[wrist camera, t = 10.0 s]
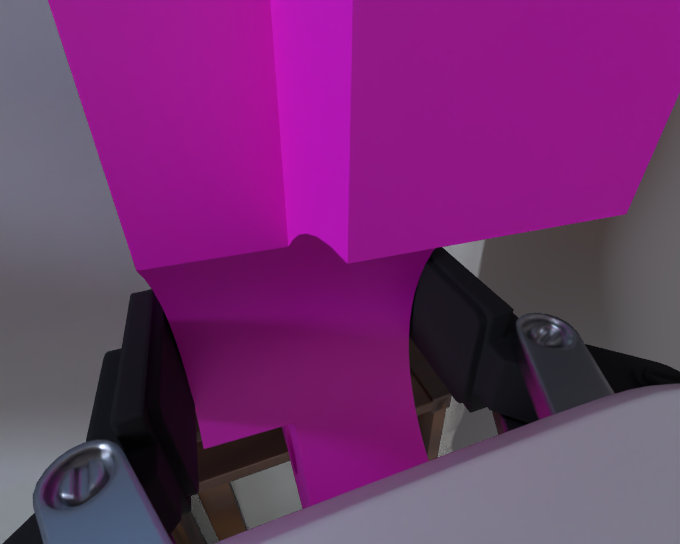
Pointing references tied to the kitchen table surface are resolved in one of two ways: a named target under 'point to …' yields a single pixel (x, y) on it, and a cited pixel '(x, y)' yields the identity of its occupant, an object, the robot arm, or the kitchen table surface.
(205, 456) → the crate
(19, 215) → the kitchen table surface
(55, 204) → the kitchen table surface
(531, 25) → the magenta cradle bracket
